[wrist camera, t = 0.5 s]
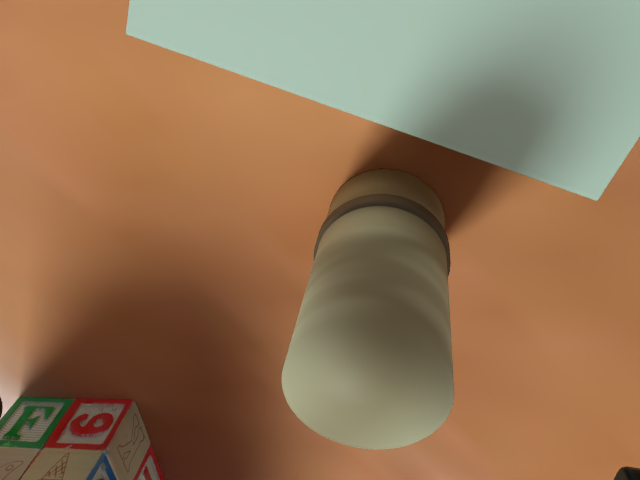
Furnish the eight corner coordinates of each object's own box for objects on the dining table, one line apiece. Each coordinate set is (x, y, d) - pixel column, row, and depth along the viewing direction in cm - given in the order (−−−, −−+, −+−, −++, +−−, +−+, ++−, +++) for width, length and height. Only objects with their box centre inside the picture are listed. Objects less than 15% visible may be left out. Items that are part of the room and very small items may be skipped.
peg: (468, 191, 19) (490, 358, 13) (419, 286, 22) (416, 472, 15) (347, 148, 19) (305, 294, 13) (311, 249, 22) (258, 419, 15)
